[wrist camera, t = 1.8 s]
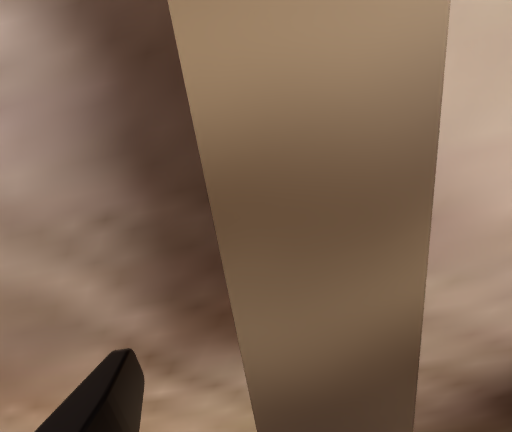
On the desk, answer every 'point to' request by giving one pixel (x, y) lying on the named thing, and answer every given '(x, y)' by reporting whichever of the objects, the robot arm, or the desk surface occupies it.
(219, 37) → the rail
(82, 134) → the desk surface
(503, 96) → the desk surface
